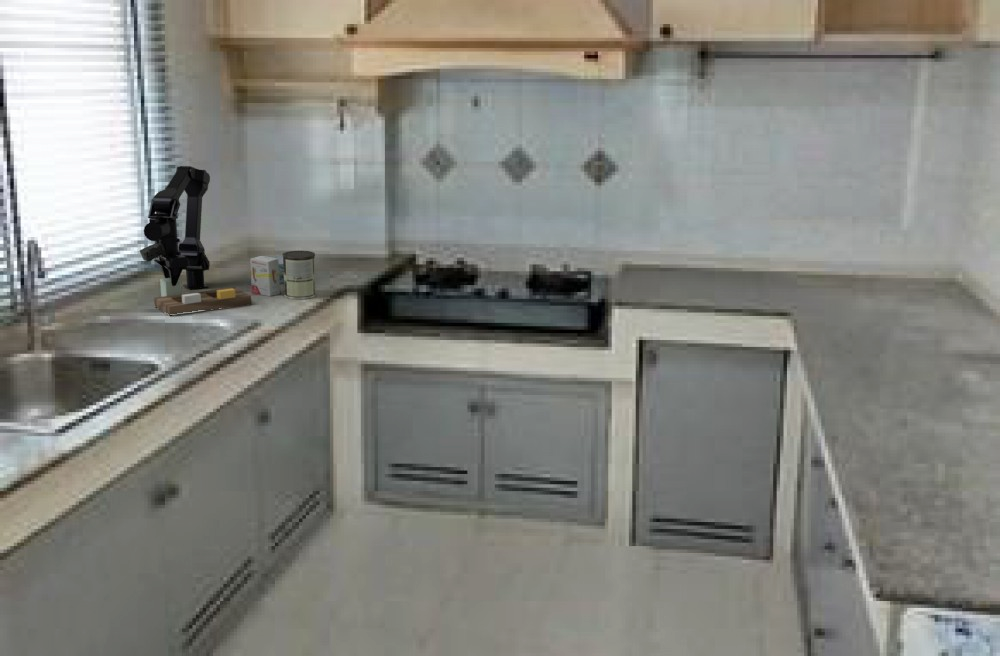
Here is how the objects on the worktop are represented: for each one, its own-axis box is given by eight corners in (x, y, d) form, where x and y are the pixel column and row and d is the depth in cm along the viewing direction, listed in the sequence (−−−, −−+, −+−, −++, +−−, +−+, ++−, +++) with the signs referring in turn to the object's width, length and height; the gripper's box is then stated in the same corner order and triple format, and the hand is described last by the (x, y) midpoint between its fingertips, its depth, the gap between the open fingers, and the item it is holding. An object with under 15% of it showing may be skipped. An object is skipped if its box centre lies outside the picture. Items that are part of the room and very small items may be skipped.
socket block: (154, 307, 305) (153, 290, 304) (234, 296, 320) (234, 280, 319) (169, 316, 295) (168, 298, 294) (251, 304, 311) (250, 288, 309)
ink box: (250, 292, 325) (249, 257, 322) (261, 290, 329) (260, 255, 326) (269, 296, 321) (268, 261, 318) (280, 293, 325) (279, 258, 322)
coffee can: (277, 295, 323) (276, 253, 319) (304, 290, 330) (303, 249, 326) (295, 301, 316) (294, 258, 312) (322, 296, 323) (321, 254, 319)
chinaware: (244, 279, 343) (243, 258, 341) (284, 274, 352) (283, 253, 350) (262, 288, 332) (261, 266, 330) (303, 283, 340) (302, 261, 338)
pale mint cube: (161, 300, 313) (160, 279, 311) (177, 298, 316) (175, 277, 314) (167, 303, 309) (165, 282, 307) (182, 301, 312) (181, 280, 310)
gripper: (131, 232, 309) (135, 281, 314) (151, 242, 295) (155, 293, 299) (166, 229, 316) (170, 277, 320) (188, 239, 302) (191, 288, 306)
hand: (171, 284), depth 311 cm, fingers closed on pale mint cube, 5 cm apart
